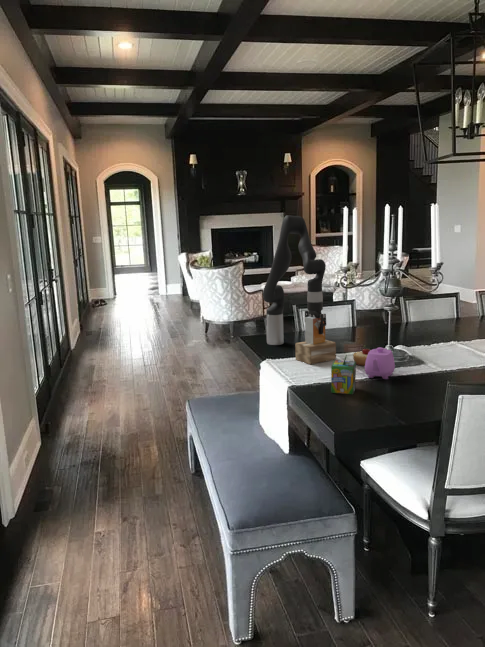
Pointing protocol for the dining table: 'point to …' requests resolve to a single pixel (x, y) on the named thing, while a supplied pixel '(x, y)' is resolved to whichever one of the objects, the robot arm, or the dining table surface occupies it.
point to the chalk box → (343, 376)
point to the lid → (315, 344)
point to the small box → (313, 331)
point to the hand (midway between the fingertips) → (315, 332)
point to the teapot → (379, 363)
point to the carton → (315, 354)
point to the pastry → (361, 357)
